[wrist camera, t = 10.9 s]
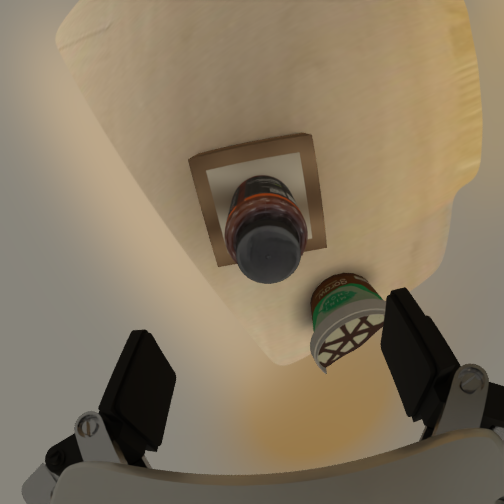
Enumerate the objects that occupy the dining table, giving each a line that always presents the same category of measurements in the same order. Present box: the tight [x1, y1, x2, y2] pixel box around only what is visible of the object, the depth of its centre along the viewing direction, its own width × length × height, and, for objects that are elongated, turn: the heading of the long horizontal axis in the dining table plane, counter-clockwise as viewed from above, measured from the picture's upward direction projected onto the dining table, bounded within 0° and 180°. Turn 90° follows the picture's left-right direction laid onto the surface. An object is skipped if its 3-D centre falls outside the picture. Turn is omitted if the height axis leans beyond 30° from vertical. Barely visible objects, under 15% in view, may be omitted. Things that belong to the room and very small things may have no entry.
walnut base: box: [188, 133, 327, 267], centre depth 29 cm, size 12×12×5 cm
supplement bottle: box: [225, 175, 308, 284], centre depth 22 cm, size 6×6×11 cm
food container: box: [310, 273, 386, 374], centre depth 33 cm, size 12×6×10 cm, turn 138°
